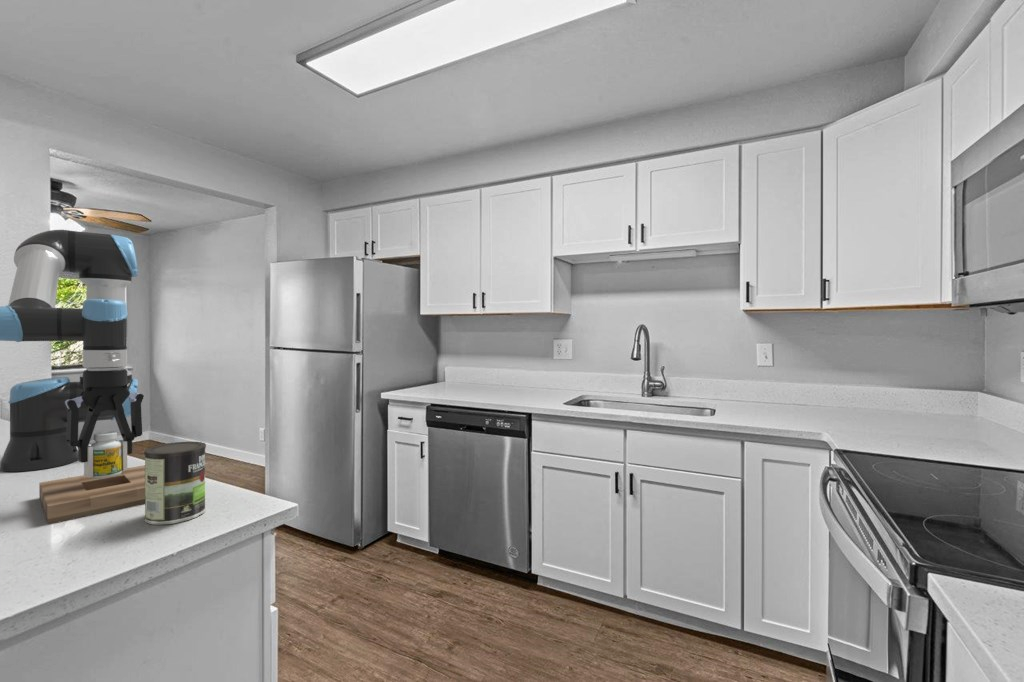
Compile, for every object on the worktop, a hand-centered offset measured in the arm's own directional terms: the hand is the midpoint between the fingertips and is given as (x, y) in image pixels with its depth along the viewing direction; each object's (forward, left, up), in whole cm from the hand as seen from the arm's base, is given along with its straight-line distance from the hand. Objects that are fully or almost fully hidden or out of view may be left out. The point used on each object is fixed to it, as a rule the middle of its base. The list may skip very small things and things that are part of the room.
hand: (106, 472), depth 105 cm
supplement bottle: (0, 0, -1) cm, 1 cm away
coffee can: (+4, +23, -6) cm, 24 cm away
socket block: (0, 0, -6) cm, 6 cm away
